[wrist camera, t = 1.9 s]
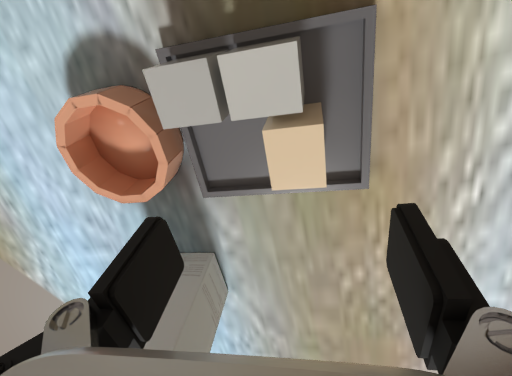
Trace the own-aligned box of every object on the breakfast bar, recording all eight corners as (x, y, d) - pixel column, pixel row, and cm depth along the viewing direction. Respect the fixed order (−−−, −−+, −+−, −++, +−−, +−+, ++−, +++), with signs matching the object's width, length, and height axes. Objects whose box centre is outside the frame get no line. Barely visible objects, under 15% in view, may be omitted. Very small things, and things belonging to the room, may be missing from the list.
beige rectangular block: (321, 102, 20) (323, 123, 16) (323, 156, 23) (326, 187, 19) (271, 108, 21) (261, 130, 17) (279, 160, 24) (272, 190, 19)
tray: (372, 5, 17) (376, 4, 16) (366, 181, 24) (368, 188, 23) (162, 47, 21) (155, 49, 20) (207, 191, 27) (203, 197, 26)
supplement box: (159, 251, 33) (89, 359, 23) (215, 251, 32) (168, 367, 21) (178, 291, 37) (126, 399, 27) (229, 292, 35) (195, 409, 25)
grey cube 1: (300, 35, 18) (296, 40, 14) (304, 93, 20) (302, 112, 16) (237, 47, 19) (216, 55, 15) (247, 100, 21) (231, 121, 17)
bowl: (162, 77, 22) (139, 86, 19) (196, 179, 27) (181, 200, 24) (67, 93, 24) (32, 104, 21) (113, 185, 29) (90, 204, 26)
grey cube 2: (228, 49, 20) (206, 57, 15) (239, 102, 22) (221, 122, 17) (176, 59, 21) (142, 69, 16) (190, 108, 22) (163, 129, 18)
